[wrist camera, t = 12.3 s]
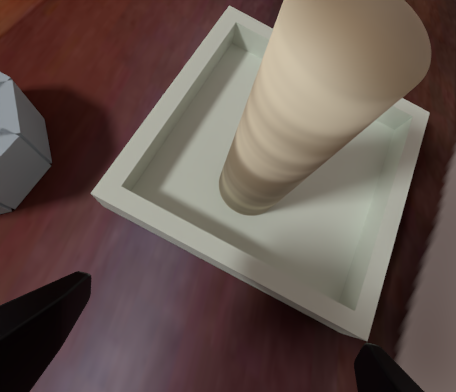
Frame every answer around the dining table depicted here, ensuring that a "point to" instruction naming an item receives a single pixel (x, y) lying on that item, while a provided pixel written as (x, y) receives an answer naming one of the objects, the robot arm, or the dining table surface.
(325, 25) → the maple dowel
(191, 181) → the sage tray
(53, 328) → the robot arm
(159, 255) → the dining table surface
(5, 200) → the slate cup
